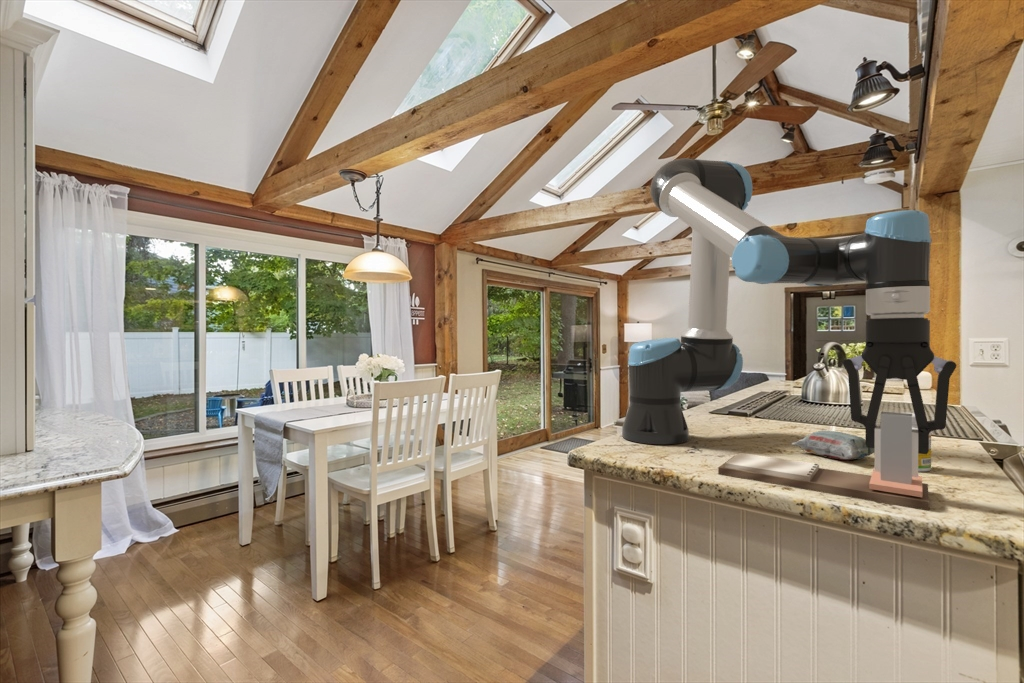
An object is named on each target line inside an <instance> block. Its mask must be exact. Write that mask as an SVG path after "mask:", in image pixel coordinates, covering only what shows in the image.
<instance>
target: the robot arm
mask: <svg viewBox="0 0 1024 683" xmlns="http://www.w3.org/2000/svg"><path fill="white" fill-rule="evenodd" d="M752 180H753V179H752V177H751V174H750V173H749V171H748V170H747V169H746V168H745V167H744V166H743V165H741V164H739V163H737V162H736V163H735V162H729V161H727V160H720V161H719V160H710V159H709V160H707V159H695V158H694V159H693V158H685V157H683V158H676V159H673V160H670V161H667V163H664V165H662V166H660V168H658V170H657V171H656V172H655V174H654V176H653V178H652V179H651V183H650V188H649V190H650V197H651V200H652V202H653V204H654V205H655V206H656V207H657V209H658V210H660V211H661V212H662V213H663V214H665V215H666V216H668V217H670V218H678V219H680V220H681V221H682V222H684V223H685V224H686V225H688V226H689V227H690V228H691V230H692V231H691V250H690V252H691V253H690V254H691V255H690V271H689V272H690V274H689V275H690V277H689V278H690V279H689V297H688V299H689V300H688V318H687V319H688V320H687V322H688V323H687V328H686V330H684V331H683V333H681V334H680V335H681V336H680V339H679V338H678V337H664V338H655V339H648V340H647V339H646V340H642V341H637V342H634V343H633V344H632V345H631V346H630V347H629V350H628V351H629V353H628V361H627V362H628V363H627V364H628V381H629V382H628V384H629V388H628V390H629V392H628V395H629V398H628V399H629V404H628V405H629V406H628V408H627V411H626V415H625V418H624V421H623V424H622V428H621V432H622V435H621V436H622V438H624V439H625V440H628V441H630V442H635V443H640V444H648V445H677V444H683V443H686V442H688V441H689V439H690V431H689V428H688V427H689V426H688V424H687V421H686V418H685V416H684V413H683V410H682V407H681V406H682V405H681V397H682V396H681V394H682V393H687V392H688V393H689V392H716V391H719V390H720V391H721V390H727V389H729V388H731V387H732V386H733V385H734V384H736V383H737V381H738V380H739V378H740V376H741V374H742V370H743V366H744V365H743V363H744V360H743V359H744V358H743V355H742V353H740V352H741V350H740V347H738V346H737V345H736V344H734V343H733V340H734V339H733V338H734V336H733V335H732V334H731V333H730V332H729V331H728V329H727V321H728V319H727V318H728V302H729V301H728V298H729V284H730V283H729V281H730V264H731V265H732V269H734V274H735V276H736V277H737V278H738V279H739V280H741V281H744V282H747V283H756V284H761V285H766V284H767V285H769V284H802V285H803V284H805V285H807V286H809V287H814V286H815V287H830V286H832V285H840V284H847V283H854V282H865V314H866V315H867V316H870V317H869V319H867V320H866V321H865V344H864V345H865V346H864V349H863V350H862V352H861V355H857V356H854V357H851V358H850V357H849V358H846V359H843V361H842V365H843V368H844V369H845V371H846V374H847V375H848V376H847V377H848V392H849V403H850V404H849V407H850V409H849V410H850V420H852V422H854V423H859V424H861V425H863V426H864V428H865V438H864V439H865V444H866V446H867V447H869V448H875V452H874V463H873V464H874V469H873V470H874V471H878V472H881V425H877V419H878V415H879V413H880V412H879V411H880V407H881V402H882V399H883V394H884V391H885V387H886V383H887V380H891V379H900V380H905V381H906V384H907V387H908V391H909V396H910V401H911V405H912V409H913V413H914V414H915V418H916V422H917V427H918V430H915V429H912V476H913V477H918V476H919V472H918V453H920V454H927V453H928V452H929V433H930V432H931V433H932V432H933V431H938V430H945V429H946V426H947V415H948V413H947V412H948V403H949V402H948V401H949V393H950V392H949V391H950V379H951V377H952V375H953V373H954V371H955V370H956V368H957V363H956V362H955V361H954V360H950V359H949V360H947V359H944V358H941V357H938V356H935V353H934V352H933V350H932V349H931V345H930V344H931V343H930V341H931V337H930V336H931V335H930V333H931V329H930V328H931V320H929V318H928V317H925V315H928V314H929V313H930V312H931V287H930V286H931V284H930V262H931V261H930V260H931V243H932V238H931V231H930V230H931V229H930V217H929V215H928V213H927V212H924V211H921V210H915V209H913V210H912V209H911V210H910V209H909V210H897V211H888V212H884V213H879V214H876V215H873V216H872V217H871V216H870V217H869V218H868V219H867V220H866V223H865V229H864V232H863V233H861V234H856V235H851V236H845V237H841V238H821V237H820V238H816V237H799V236H798V237H795V236H786V235H783V234H782V233H780V232H778V231H776V230H774V229H773V228H771V227H770V226H768V224H765V223H763V222H762V221H761V220H759V219H757V218H755V217H754V216H752V215H750V214H748V213H747V212H745V210H746V209H747V207H748V206H749V204H748V203H750V202H751V200H752V196H753V190H754V189H753V186H754V185H753V182H752ZM730 260H731V263H730ZM863 362H865V363H866V365H867V366H868V367H869V368H870V369H871V371H873V372H874V374H875V375H876V376H875V379H874V386H873V389H872V393H871V399H870V401H869V405H868V410H867V414H866V415H865V414H863V412H862V399H861V398H862V397H861V396H862V394H861V380H860V372H859V371H860V370H861V369H862V368H863ZM930 364H932V365H933V370H934V372H935V373H937V374H938V375H937V380H936V381H937V382H936V392H935V393H936V394H935V406H934V419H933V420H928V417H927V414H926V410H925V404H924V401H923V396H922V392H921V390H920V389H921V388H920V384H919V379H918V377H919V375H920V374H921V373H922V372H923V371H924V370H925V369H927V367H928V366H929V365H930Z"/></svg>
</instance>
